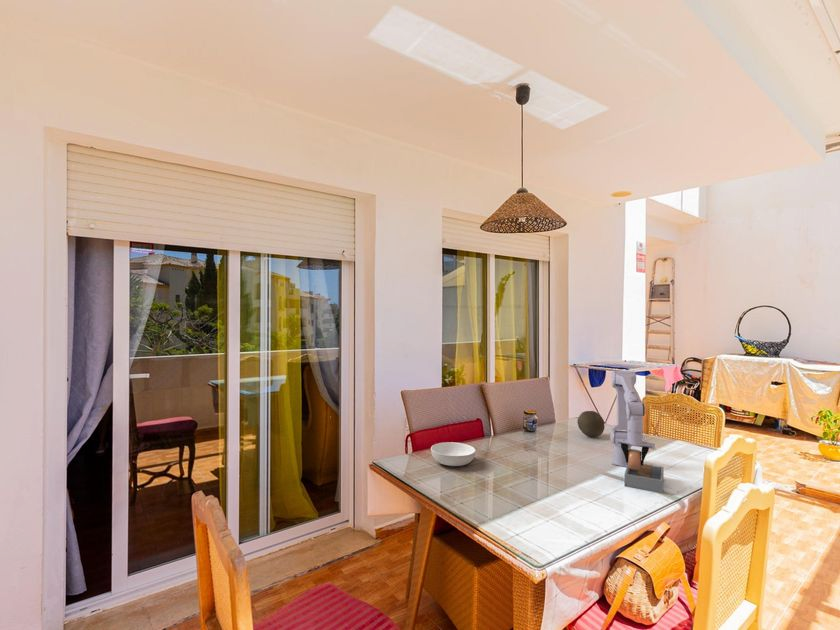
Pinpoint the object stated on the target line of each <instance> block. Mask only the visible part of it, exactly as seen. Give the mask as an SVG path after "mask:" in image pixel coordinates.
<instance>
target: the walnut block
mask: <svg viewBox="0 0 840 630" xmlns="http://www.w3.org/2000/svg"><path fill="white" fill-rule="evenodd" d="M652 466H653V465H652V464H647V463H643V466H642V465H641V470H638V476H642V477H647V478H652Z"/></svg>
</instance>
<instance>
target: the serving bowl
mask: <svg viewBox="0 0 840 630" xmlns="http://www.w3.org/2000/svg"><path fill="white" fill-rule="evenodd" d="M430 452H431V455H432V458H433V459H434V460H435V461H436V462H437V463H439V464H442V465H445V466H448V467H461V466H465V465H468V464H469V463H471V462H472V461H473V460H474V458H475V456H476V452H477V451H476V449H475V447H474V446H472V445H470V444H466V443H463V442H453V441H451V442H449V441H448V442H447V441H446V442H439V443H435V444H433V445H431V447H430Z"/></svg>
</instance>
